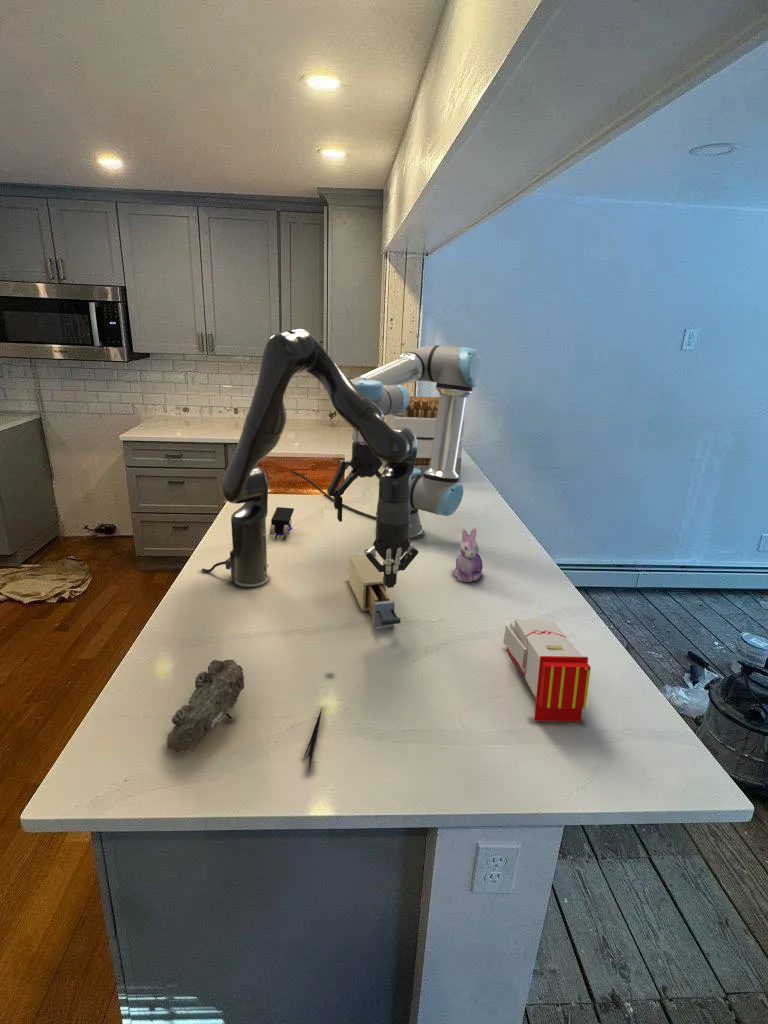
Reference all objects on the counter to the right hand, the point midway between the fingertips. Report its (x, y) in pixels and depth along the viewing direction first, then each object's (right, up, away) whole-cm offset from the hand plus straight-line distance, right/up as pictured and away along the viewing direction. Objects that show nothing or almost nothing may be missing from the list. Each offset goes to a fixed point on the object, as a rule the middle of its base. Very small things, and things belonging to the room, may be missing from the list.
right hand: (364, 518), depth 154 cm
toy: (+39, -35, -30) cm, 60 cm away
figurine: (+31, -18, +16) cm, 39 cm away
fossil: (-27, -37, -46) cm, 65 cm away
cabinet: (0, -21, +3) cm, 21 cm away
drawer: (+4, -25, -9) cm, 27 cm away
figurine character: (-30, -6, +41) cm, 51 cm away
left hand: (+7, -16, -21) cm, 27 cm away
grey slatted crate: (+23, +21, +121) cm, 125 cm away
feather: (-7, -38, -45) cm, 60 cm away
